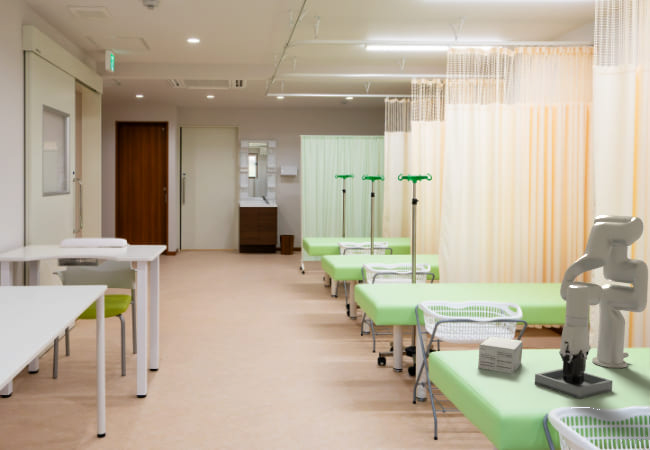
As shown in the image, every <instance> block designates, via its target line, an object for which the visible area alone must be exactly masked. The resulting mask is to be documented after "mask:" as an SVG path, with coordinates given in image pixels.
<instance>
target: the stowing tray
mask: <svg viewBox="0 0 650 450" xmlns="http://www.w3.org/2000/svg"><path fill="white" fill-rule="evenodd" d="M534 385H537V386H540V387H543V388H546V389H549V390H551V391H555V392H557V393H561V394H564V395H567V396H570V397H571V398H572V397H573V398H575V399H578V400H581V399H584V398H589V397H593V396H596V395H601V394H604V393H608V392H612V390H613V380H611V379H608V378H605V377H602V376H598V375H594V374H590V373H588V372H586V371H584V383H583V384H580V385H575V384H569V383H566V382H564V381H563V367H562V368H557V369H553V370H549V371H544V372H540V373H534Z"/></svg>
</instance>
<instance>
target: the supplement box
mask: <svg viewBox="0 0 650 450" xmlns="http://www.w3.org/2000/svg"><path fill="white" fill-rule="evenodd" d="M478 347H479V348H478V349H479V350H478V352H479V353H478V362H477V363H478V366H477V368H479V369H482V368H483V370H488V369H489V371H495V372H500V373H501V372H502V373H506V374H514V372H515V371H516V370H517V369H518V368H519V367H520V365H521V364H522V355H523V340H520V339H519V340H518V339H511V338H506V337H505V338H504V337H499V336H498V337H497V336H488V338H486V339H485V340H483V341H482V343H480V344H479V346H478Z"/></svg>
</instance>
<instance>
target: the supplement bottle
mask: <svg viewBox="0 0 650 450" xmlns="http://www.w3.org/2000/svg"><path fill="white" fill-rule="evenodd" d="M568 353H570V352H568ZM582 354H583V353H582V350H580V351H579V354H577V355H573V358H572V361H571V363H572V374H566V373H563V381H564V382H566V383H569V384H575V385H580V384H583V383H584V372H585V371H586V367H585V358H584V357H583V356H582ZM567 357H568V358H569V355H567ZM584 370H585V371H584Z"/></svg>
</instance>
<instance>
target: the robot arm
mask: <svg viewBox="0 0 650 450" xmlns="http://www.w3.org/2000/svg"><path fill="white" fill-rule="evenodd" d="M643 232H644V222H643V220H642V219H641V218H640V217H637V216H627V215H616V214H615V215H613V214H612V215H611V214H608V215H607V214H606V215H604V214H603V215H599V216H596V217H595V218H594V220H593V225H592V227H591V229H590V233H589V236H588V240H587V243H586V247H585V249H584V253H583V255H582V256H581V257H579V258H578V259H576V260H575V261H574V262H572V264H570V266H568V268H567V269H566V271H565V272H564V274H563V275H564V276H563V278H562V281H561V284H560V290H559V291H560V292H559V293H560V295H559V296H560V298H561V299H562V300H563V301H565V302H566V303H565V319H564V325H563V328H562V333H561V339H560V340H561V341H560V348H559V352H558V354H559V355H560V358H561V359H562V360H561V361H562V368H563V373H566V374H572V363H571V361H572V358H573V355H577V354H579V351H580V350H582V353H583V354H582V356H583V357H584V358H585V368H586V367H587V366H586V364H587V360H588V355H589V352H590V350H591V349H592V347H591V346H590V331H589V324H590V323H589V321H590V319H589V318H590V306H596V305H597V306H598V307H599V308H598V310H599V311H598V312H599V313H598V314H599V317H598V334H597V350H596V356H594V357H593V358H592V360H591V361H592V363H594V364H596V365H598V366H601V367H605V368H613V369H624V368H626V367H628V363H627V361H625V360H624V359H625V358H628V357H629V353H628V352H624V350H625V348H624V347H625V335H626V334H625V333H626V319H625V317H624V315H623V314H622V312H621V311H623V312H624V311H626V312H634V313H641V312H644V311H645V310H646V308H647V305H648V304H647V303H648V291H649V290H648V289H649V288H648V287H649V286H648V285H649V267H648V265H647V263H646V262H645V261H643V260H641V259H633V258H629V257H628V250H629V248H628V247H629V246H632V245H633V244H634V243H636V242H637V241H638V240H639V239H640V238H641V236H643ZM601 268H602V270H603V271H602V274H603V277H604V279H606V281H609V282H614V283H621V284H622V283H623V284H630V285H632V286H628V285H627V286H626V285H619V284H612V283H609V284H604V285H602V286H601V285H599V284H596V283H591V282H583V281H577V280H576V278H578V277H579V276H580V275H582V274H583V273H586V272H590V271H594V270H596V269H601ZM575 280H576V281H575ZM568 352H570V353H568ZM567 355H569V358H568V357H567ZM584 372H586V369H585V370H584Z"/></svg>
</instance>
